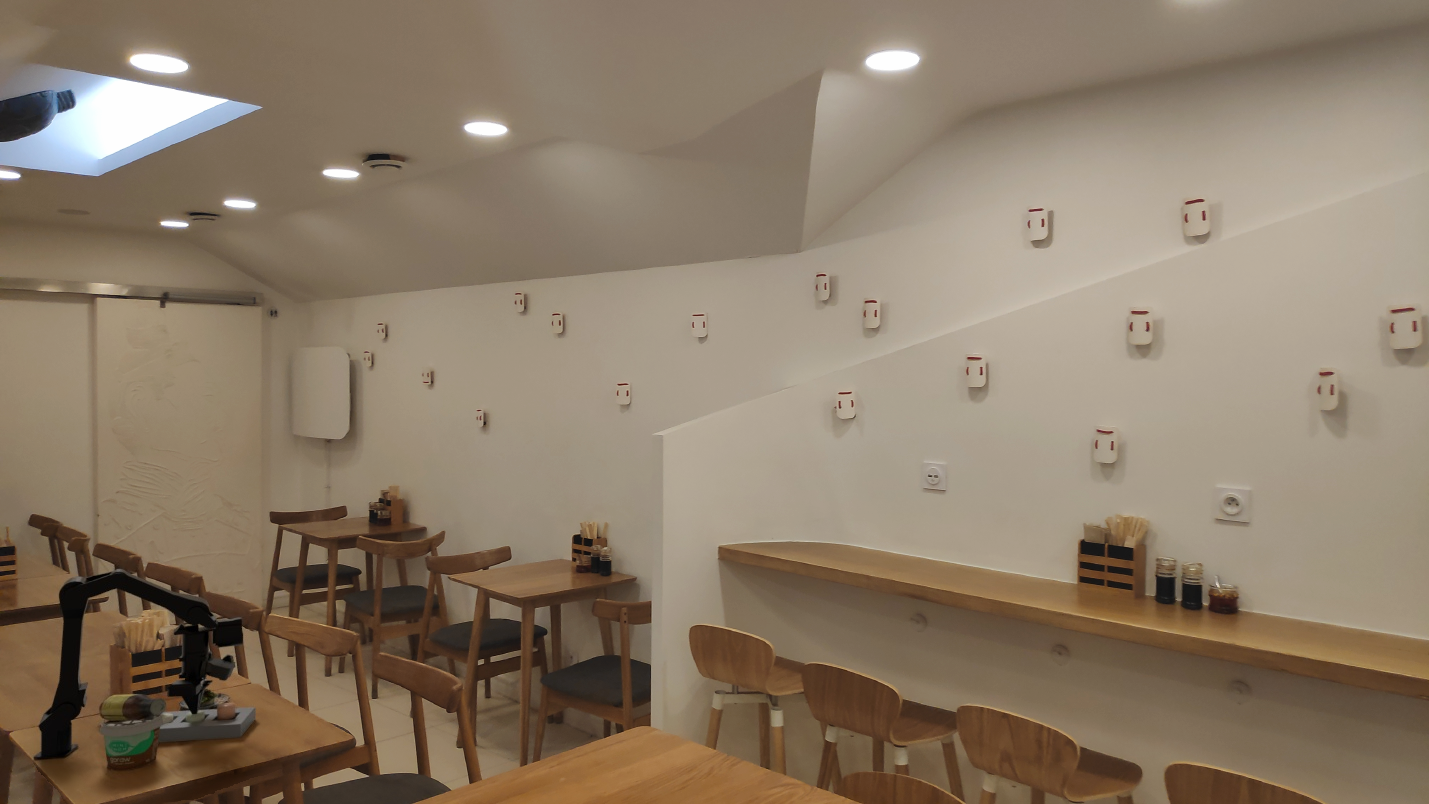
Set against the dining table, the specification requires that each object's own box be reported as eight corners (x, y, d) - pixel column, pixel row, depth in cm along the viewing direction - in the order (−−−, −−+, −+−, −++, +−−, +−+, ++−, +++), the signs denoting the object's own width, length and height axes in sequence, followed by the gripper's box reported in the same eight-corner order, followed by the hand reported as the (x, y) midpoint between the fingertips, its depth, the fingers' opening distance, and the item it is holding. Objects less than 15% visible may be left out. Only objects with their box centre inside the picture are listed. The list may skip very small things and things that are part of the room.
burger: (208, 716, 229) (208, 687, 229) (167, 713, 231) (167, 684, 231) (240, 700, 241) (240, 673, 241) (201, 698, 243) (201, 670, 243)
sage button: (201, 728, 217) (201, 715, 217) (183, 729, 216) (183, 716, 216) (206, 722, 221) (207, 710, 221) (189, 723, 220) (189, 711, 220)
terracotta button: (232, 719, 218) (232, 707, 218) (214, 720, 217) (214, 708, 217) (237, 713, 222) (237, 701, 222) (220, 714, 221) (220, 702, 221)
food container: (89, 775, 193) (90, 729, 193) (101, 763, 199) (101, 719, 199) (154, 769, 196) (154, 724, 196) (163, 758, 202) (163, 714, 202)
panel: (240, 737, 215) (240, 723, 215) (129, 743, 210) (130, 730, 210) (255, 719, 227) (255, 706, 227) (150, 725, 222) (151, 712, 222)
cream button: (169, 731, 215) (169, 718, 215) (151, 732, 215) (151, 719, 215) (175, 725, 219) (175, 712, 219) (157, 726, 219) (157, 713, 219)
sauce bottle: (126, 709, 229) (176, 711, 221) (103, 725, 224) (153, 728, 216) (115, 688, 228) (165, 689, 219) (92, 703, 222) (142, 705, 214)
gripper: (218, 659, 211) (217, 725, 211) (243, 638, 229) (242, 699, 229) (166, 661, 209) (165, 728, 209) (195, 640, 227) (194, 701, 227)
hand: (194, 713), depth 218 cm, fingers closed, pressing on sage button
